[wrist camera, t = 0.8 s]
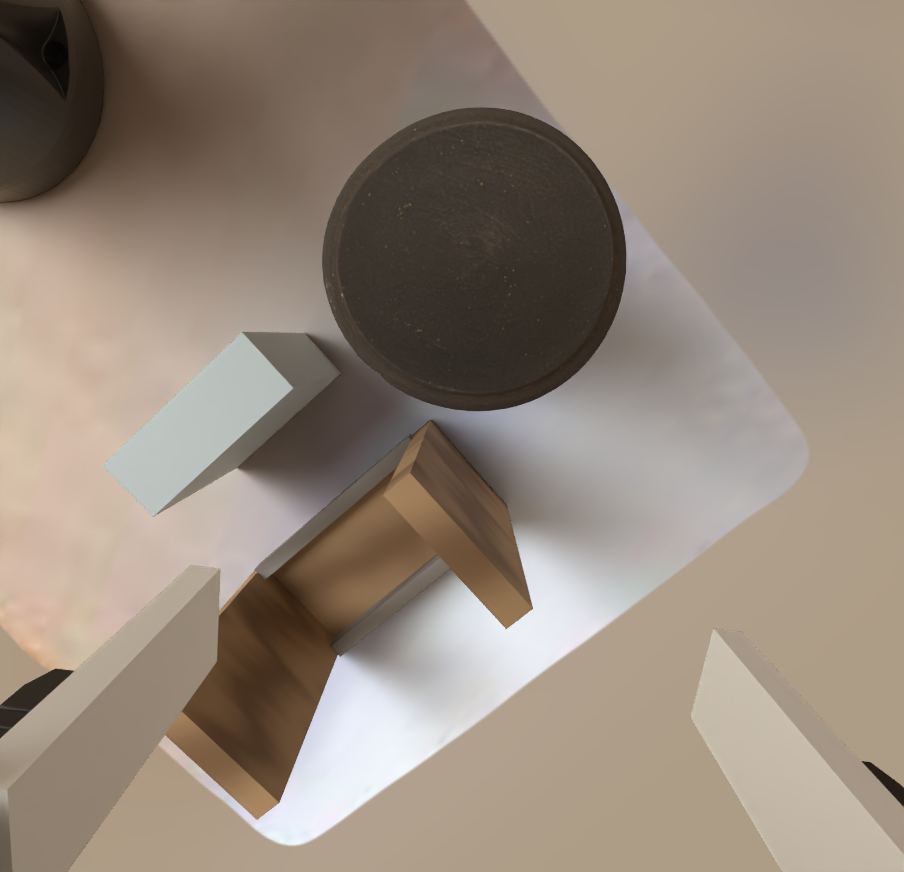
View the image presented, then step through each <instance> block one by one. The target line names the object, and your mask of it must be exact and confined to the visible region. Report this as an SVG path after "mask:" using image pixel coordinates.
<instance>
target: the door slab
mask: <svg viewBox="0 0 904 872" xmlns="http://www.w3.org/2000/svg"><path fill="white" fill-rule="evenodd" d="M340 374H341V373H340V372H339V371H338V369H337V368H336V367H335V366H334V365H333V364H332V363H331V362H330V361H329V359H328V358H327V357H326V356H325V355H324V354H323V353H322V352H321V351H320V349H319V348H318V347H317V346H316V345H315V344H314V343H313V342H312V341H311V339H310V338H309V337H308V336H307V335H306V334H305V333H268V332H242V333H241V334H240V335H238V336H237V337H236V338H235V339H234V340H233V341H232V342H231V343H230V344H229V345H228V346H227V347H226V348H225V349H224V350H223V351H222V352H221V353H220V354H219V355H218V356H217V357H215V358H214V359H213V360H212V361H211V362H210V363H209V364H208V365H207V366H206V367H205V368H204V369H203V370H202V371H201V372H200V373H199V374H198V375H197V376H196V377H195V378H193V379H192V380H191V381H190V382H189V383H188V384H187V385H186V386H185V387H184V388H183V389H182V390H181V391H180V392H179V393H178V394H177V395H176V396H175V397H174V398H173V399H172V400H170V401H169V402H168V403H167V404H166V405H165V406H164V407H163V408H162V409H161V410H160V411H159V412H158V413H157V414H156V415H155V416H154V417H153V418H152V419H151V420H150V421H149V422H147V423H146V424H145V425H144V426H143V427H142V428H141V429H140V430H139V431H138V432H137V433H136V434H135V435H134V436H133V437H132V438H131V439H130V440H129V441H128V442H127V443H125V444H124V445H123V446H122V447H121V448H120V449H119V450H118V451H117V452H116V453H115V454H114V455H113V456H112V457H111V458H110V459H109V460H108V461H107V462H106V463H105V464H104V465H102V466H103V467H104V468H105V469H106V470H107V471H108V472H109V473H110V474H111V475H112V476H113V477H114V478H115V479H116V480H117V481H118V482H119V483H120V484H121V485H122V486H123V487H124V488H125V489H126V490H127V491H128V492H129V493H130V494H131V495H132V496H133V497H134V498H135V499H136V500H137V501H138V502H139V503H140V504H141V505H142V506H143V507H144V508H145V509H146V510H147V511H148V512H149V513H150V514H151V515H152V516H153V517H154V516H155V515H157V514H159V513H160V512H162V511H164V510H166V509H167V508H169V507H171V506H172V505H174V504H176V503H178V502H179V501H181V500H183V499H184V498H186V497H188V496H190V495H191V494H193V493H195V492H196V491H198V490H200V489H202V488H203V487H205V486H207V485H208V484H210V483H212V482H214V481H215V480H217V479H219V478H220V477H222V476H224V475H225V474H227V473H229V472H231V471H232V470H234V469H236V468H237V467H238V466H239V465H241V464H242V463H243V462H244V461H245V460H246V459H247V458H248V457H249V456H250V455H252V454H253V453H254V452H255V451H256V450H257V449H258V448H259V447H260V446H261V445H263V444H264V443H265V442H266V441H267V440H268V439H269V438H270V437H271V436H273V435H274V434H275V433H276V432H277V431H278V430H279V429H280V428H281V427H282V426H284V425H285V424H286V423H287V422H288V421H289V420H290V419H291V418H292V417H293V416H295V415H296V414H297V413H298V412H299V411H300V410H301V409H302V408H303V407H305V406H306V405H307V404H308V403H309V402H310V401H311V400H312V399H313V398H314V397H316V396H317V395H318V394H319V393H320V392H321V391H322V390H323V389H324V388H325V387H327V386H328V385H329V384H330V383H331V382H332V381H333V380H334V379H335V378H337V377H338V376H339V375H340Z"/></svg>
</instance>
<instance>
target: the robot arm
mask: <svg viewBox="0 0 904 872" xmlns="http://www.w3.org/2000/svg"><path fill="white" fill-rule="evenodd" d="M102 102H103V69H102V61H101V56H100V51H99V47H98V43H97V39H96V36H95V33H94V30H93V27H92V25H91V22H90V20H89V18H88V15H87V13H86V11H85V9H84V7H83V5H82V4H81V2H80V0H0V202H9V201H17V200H22V199H26V198H30V197H33V196H35V195H38V194H40V193H42V192H44V191H46V190H48V189H50V188H52V187H53V186H55V185H56V184H58V183H59V182H60V181H62V180H63V179H64V178H65V177H66V176H67V175H68V174H69V173H70V172H71V171H72V170H73V169H74V168H75V167H76V166H77V165H78V163H79V162H80V161H81V159H82V158H83V156H84V155H85V153H86V151H87V150H88V148H89V146H90V144H91V142H92V140H93V137H94V135H95V132H96V129H97V126H98V123H99V119H100V114H101V109H102ZM219 592H220V569H219V568H210V567H202V566H194V565H191V566H190V567H188V568H187V569H186V570H185V571H184V572H183V573H182V574H181V575H180V576H179V577H177V578H176V579H175V580H174V581H173V582H172V583H171V584H170V585H169V586H168V587H166V588H165V589H164V590H163V591H162V592H161V593H160V594H159V595H158V596H157V597H155V598H154V599H153V600H152V601H151V602H150V603H149V604H148V605H147V606H146V607H144V608H143V609H142V610H141V611H140V612H139V613H138V614H137V615H136V616H135V617H133V618H132V619H131V620H130V621H129V622H128V623H127V624H126V625H125V626H124V627H122V628H121V629H120V630H119V631H118V632H117V633H116V634H115V635H114V636H113V637H111V638H110V639H109V640H108V641H107V642H106V643H105V644H104V645H103V646H102V647H100V648H99V649H98V650H97V651H96V652H95V653H94V654H93V655H92V656H91V657H89V658H88V659H87V660H86V661H85V662H84V663H83V664H82V665H81V666H80V667H78V668H77V669H76V670H75V671H71V670H63V669H54V670H52V671H50V672H48V673H46V674H45V675H43V676H41V677H39V678H37V679H35V680H33V681H31V682H29V683H27V684H25V685H24V686H22V687H21V688H20V689H19V690H18V691H16V692H15V693H14V694H13V695H12V696H11V697H9V698H8V699H7V700H6V701H5V702H3V703H2V704H1V705H0V872H68V870H69V869H70V867H71V866H72V865H73V863H74V862H75V860H76V859H77V858H78V856H79V855H80V853H81V852H82V851H83V849H84V848H85V846H86V845H87V844H88V842H89V841H90V839H91V838H92V837H93V835H94V834H95V832H96V831H97V830H98V828H99V827H100V825H101V824H102V822H103V821H104V820H105V818H106V817H107V815H108V814H109V813H110V811H111V810H112V808H113V807H114V806H115V804H116V803H117V801H118V800H119V798H120V797H121V796H122V794H123V793H124V791H125V790H126V789H127V787H128V786H129V784H130V783H131V782H132V780H133V779H134V777H135V776H136V775H137V773H138V772H139V770H140V769H141V768H142V766H143V765H144V763H145V762H146V760H147V759H148V758H149V756H150V755H151V753H152V752H153V751H154V749H155V748H156V746H157V745H158V744H159V742H160V741H161V739H162V738H163V737H164V735H165V734H166V732H167V731H168V730H169V728H170V727H171V725H172V724H173V723H174V721H175V720H176V718H177V717H178V715H179V714H180V713H181V711H182V710H183V708H184V707H185V706H186V704H187V703H188V701H189V700H190V699H191V697H192V696H193V694H194V693H195V692H196V690H197V689H198V687H199V686H200V685H201V683H202V682H203V680H204V679H205V677H206V676H207V675H208V673H209V672H210V670H211V669H212V668H213V666H214V665H215V663H216V662H217V646H218V619H219ZM691 719H692V721H693V722H694V724H695V725H696V727H697V729H698V731H699V732H700V734H701V736H702V737H703V739H704V741H705V743H706V744H707V746H708V748H709V749H710V751H711V753H712V754H713V756H714V758H715V759H716V761H717V762H718V764H719V766H720V768H721V769H722V771H723V773H724V775H725V776H726V778H727V779H728V781H729V783H730V785H731V786H732V788H733V790H734V791H735V793H736V795H737V796H738V798H739V800H740V802H741V803H742V805H743V807H744V808H745V810H746V812H747V813H748V815H749V817H750V818H751V820H752V822H753V823H754V825H755V826H756V828H757V830H758V832H759V834H760V835H761V837H762V839H763V840H764V842H765V844H766V845H767V847H768V849H769V850H770V852H771V854H772V855H773V857H774V859H775V860H776V862H777V864H778V866H779V867H780V869H781V871H782V872H904V788H903V787H902V786H901V785H900V784H899V783H897V782H896V781H895V780H894V779H892V778H891V777H890V776H888V775H887V774H885V773H884V772H883V771H881V770H880V769H879V768H877V767H876V766H875V765H873V764H872V763H870V762H864V761H861V760H860V759H859V758H858V757H857V756H856V755H855V754H854V753H853V752H852V751H851V750H850V749H849V747H847V745H846V744H845V743H844V742H843V741H842V740H841V739H840V738H839V737H838V736H837V735H836V733H835V732H834V731H833V730H832V729H831V728H830V727H829V726H828V725H827V724H826V723H825V721H823V719H822V718H821V717H820V716H819V715H818V714H817V713H816V712H815V711H814V710H813V709H812V707H811V706H810V705H809V704H808V703H807V702H806V701H805V700H804V699H803V698H802V697H801V695H800V694H799V693H798V692H797V691H796V690H795V689H794V688H793V687H792V686H791V685H790V684H789V682H788V681H787V680H786V679H785V678H784V677H783V676H782V675H781V674H780V673H779V672H778V671H777V669H775V667H774V666H773V665H772V664H771V663H770V662H769V661H768V660H767V659H766V658H765V656H764V655H763V654H762V653H761V652H760V651H759V650H758V649H757V648H756V647H755V646H754V645H753V644H752V643H751V641H750V640H749V639H748V638H747V637H746V636H745V635H744V634H743V633H742V632H739V631H731V630H723V629H715V628H714V629H713V632H712V636H711V640H710V644H709V648H708V652H707V655H706V659H705V663H704V667H703V670H702V674H701V678H700V682H699V686H698V690H697V694H696V698H695V701H694V706H693V709H692V713H691Z"/></svg>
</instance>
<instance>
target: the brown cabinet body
mask: <svg viewBox="0 0 904 872" xmlns="http://www.w3.org/2000/svg"><path fill="white" fill-rule="evenodd" d="M450 568H451V570H452V571H453V572H454V573H455V574H456V575H457V576H458V577H459V578H460V579H461V580H462V582H463V583H464V584H465V585H466V586H467V587H468V588H469V589H470V590H471V591H472V592H473V593H474V595H475V596H476V597H477V598H478V599H479V600H480V601H481V602H482V603H483V604H484V605H485V606H486V608H487V609H488V610H489V611H490V612H491V613H492V614H493V615H494V616H495V617H496V618H497V620H498V621H499V622H500V623H501V624H502V625H503V626H504V627H505V628H506V629H507V628H508V627H510V626H511V625H512V624H514V623H515V622H516V621H518V620H519V619H520V618H521V617H523V616H524V615H525V614H527V613H528V612H529V611H531V610H532V609H533V607H532V603H531V599H530V595H529V591H528V587H527V583H526V579H525V575H524V571H523V567H522V563H521V560H520V556H519V552H518V548H517V544H516V540H515V536H514V532H513V528H512V524H511V520H510V516H509V512H508V508H507V505H506V504H505V503H504V502H503V501H502V499H501V498H500V497H499V496H498V495H497V494H496V493H495V492H494V490H493V489H492V488H491V487H490V486H489V485H488V484H487V482H486V481H485V480H484V479H483V478H482V477H481V476H480V475H479V473H478V472H477V471H476V470H475V469H474V468H473V467H472V465H471V464H470V463H469V462H468V461H467V460H466V459H465V458H464V456H463V455H462V454H461V453H460V452H459V451H458V450H457V448H456V447H455V446H454V445H453V444H452V443H451V442H450V441H449V439H448V438H447V437H446V436H445V435H444V434H443V433H442V431H441V430H440V429H439V428H438V427H437V426H436V425H435V424H434V422H433V421H432V420H430V421H428V422H427V423H426V424H425V425H424V426H423V427H421V428H420V429H419V430H418V431H417V432H416V433H414V434H413V435H411V434H409V435H408V436H407V437H406V438H405V439H404V440H402V441H401V442H400V443H399V444H398V445H397V446H395V447H394V448H393V449H392V450H391V451H390V452H388V453H387V454H386V455H385V456H384V457H383V458H381V459H380V460H379V461H378V462H377V463H376V464H375V465H373V466H372V467H371V468H370V469H369V470H368V471H366V472H365V473H364V474H363V475H362V476H361V477H359V478H358V479H357V480H356V481H355V482H354V483H352V484H351V485H350V486H349V487H348V488H347V489H346V490H344V491H343V492H342V493H341V494H340V495H339V496H337V497H336V498H335V499H334V500H333V501H332V502H330V503H329V504H328V505H327V506H326V507H325V508H323V509H322V510H321V511H320V512H319V513H318V514H317V515H315V516H314V517H313V518H312V519H311V520H310V521H308V522H307V523H306V524H305V525H304V526H303V527H301V528H300V529H299V530H298V531H297V532H296V533H294V534H293V535H292V536H291V537H290V538H289V539H287V540H286V541H285V542H284V543H283V544H282V545H281V546H279V547H278V548H277V549H276V550H275V551H274V552H272V553H271V554H270V555H269V556H268V557H267V558H265V559H264V560H263V561H262V562H261V563H260V564H259V565H258V566H257V567H256V569H255V571H254V572H253V573H252V574H251V576H250V577H249V578H248V579H247V580H246V581H245V582H244V583H243V585H242V586H241V587H240V588H239V589H238V590H237V591H236V592H235V594H234V595H233V596H232V597H231V598H230V599H229V600H228V602H227V603H226V604H225V605H224V606H223V607H222V608H221V609H220V611H219V619H218V646H217V662H216V663H215V665H214V666H213V668H212V669H211V670H210V672H209V673H208V675H207V676H206V677H205V679H204V680H203V682H202V683H201V685H200V686H199V687H198V689H197V690H196V692H195V693H194V694H193V696H192V697H191V699H190V700H189V701H188V703H187V704H186V706H185V707H184V708H183V710H182V711H181V713H180V714H179V715H178V717H177V718H176V720H175V721H174V723H173V724H172V725H171V727H170V728H169V730H168V731H167V732H166V734H165V735H166V736H167V737H168V738H169V739H170V740H171V741H172V742H173V743H174V744H176V745H177V746H178V747H179V748H180V749H181V750H182V751H183V752H184V753H185V754H186V755H187V756H188V757H190V758H191V759H192V760H193V761H194V762H195V763H196V764H197V765H198V766H199V767H200V768H201V769H203V770H204V771H205V772H206V773H207V774H208V775H209V776H210V777H211V778H212V779H213V780H214V781H216V782H217V783H218V784H219V785H220V786H221V787H222V788H223V789H224V790H225V791H226V792H227V793H229V794H230V795H231V796H232V797H233V798H234V799H235V800H236V801H237V802H238V803H239V804H240V805H242V806H243V807H244V808H245V809H246V810H247V811H248V812H249V813H250V814H251V815H252V816H253V817H254V818H256V819H259V818H260V817H261V816H263V815H264V814H265V813H267V812H268V811H269V810H271V809H272V808H273V807H274V806H276V805H277V804H278V803H279V802H280V800H281V797H282V795H283V792H284V789H285V787H286V784H287V782H288V779H289V777H290V774H291V772H292V769H293V767H294V764H295V762H296V759H297V756H298V754H299V751H300V749H301V746H302V744H303V741H304V739H305V736H306V734H307V731H308V729H309V726H310V724H311V721H312V718H313V716H314V713H315V711H316V708H317V706H318V703H319V701H320V698H321V696H322V693H323V691H324V688H325V686H326V683H327V680H328V678H329V675H330V673H331V670H332V668H333V665H334V663H335V660H336V658H337V655H339V656H342V655H343V654H344V653H345V652H347V651H348V650H349V649H350V648H352V647H353V646H354V645H355V644H357V643H358V642H359V641H360V640H362V639H363V638H364V637H365V636H367V635H368V634H369V633H370V632H372V631H373V630H374V629H375V628H377V627H378V626H379V625H380V624H382V623H383V622H384V621H385V620H387V619H388V618H389V617H390V616H392V615H393V614H394V613H395V612H397V611H398V610H399V609H400V608H402V607H403V606H404V605H405V604H407V603H408V602H409V601H410V600H412V599H413V598H414V597H415V596H417V595H418V594H419V593H420V592H422V591H423V590H424V589H425V588H426V587H428V586H429V585H430V584H431V583H433V582H434V581H435V580H436V579H438V578H439V577H440V576H441V575H443V574H444V573H445V572H446V571H448V570H449V569H450Z"/></svg>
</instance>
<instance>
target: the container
mask: <svg viewBox="0 0 904 872" xmlns="http://www.w3.org/2000/svg"><path fill="white" fill-rule="evenodd" d="M322 267H323V278H324V285H325V289H326V294H327V297H328V301H329V304H330V307H331V310H332V313H333V315H334V317H335V320H336V322H337V324H338V326H339V328H340V330H341V331H342V333H343V335H344V337H345V338H346V340H347V341H348V343H349V344H350V345H351V347H352V348H353V349H354V351H355V352H356V353H357V355H358V356H359V357H360V358H361V359H362V360H363V361H364V362H365V363H366V364H367V365H368V366H370V367H371V368H372V369H374V370H375V371H377V372H378V373H380V374H381V376H382V377H383V378H384V379H385V380H386V381H387V382H389V383H390V384H391V385H393V386H394V387H396V388H397V389H399V390H401V391H402V392H404V393H406V394H408V395H410V396H412V397H415V398H417V399H419V400H422V401H424V402H427V403H430V404H433V405H437V406H441V407H445V408H450V409H456V410H465V411H490V410H498V409H505V408H510V407H514V406H518V405H521V404H524V403H527V402H530V401H532V400H535V399H537V398H539V397H541V396H543V395H545V394H547V393H549V392H550V391H552V390H554V389H556V388H557V387H559V386H560V385H562V384H563V383H564V382H566V381H567V380H568V379H570V378H571V377H572V376H573V375H574V374H576V373H577V372H578V371H579V370H580V369H581V368H582V367H583V366H584V365H585V364H586V362H587V361H588V360H589V359H590V358H591V357H592V355H593V354H594V353H595V351H596V350H597V349H598V347H599V346H600V344H601V343H602V341H603V339H604V338H605V336H606V334H607V332H608V330H609V328H610V326H611V325H612V322H613V320H614V318H615V315H616V313H617V310H618V307H619V304H620V300H621V296H622V292H623V286H624V281H625V274H626V243H625V235H624V230H623V224H622V220H621V216H620V213H619V210H618V207H617V204H616V202H615V199H614V197H613V194H612V192H611V190H610V188H609V186H608V184H607V182H606V180H605V179H604V177H603V176H602V174H601V172H600V171H599V170H598V168H597V167H596V165H595V164H594V163H593V161H592V160H591V159H590V158H589V157H588V155H587V154H586V153H585V152H584V151H583V150H582V149H581V148H580V147H579V146H578V145H577V144H576V143H574V142H573V141H572V140H571V139H570V138H568V137H567V136H566V135H564V134H563V133H562V132H560V131H559V130H557V129H555V128H554V127H552V126H550V125H548V124H546V123H544V122H543V121H541V120H538V119H536V118H533V117H531V116H528V115H525V114H522V113H519V112H515V111H511V110H505V109H498V108H464V109H457V110H452V111H447V112H443V113H440V114H437V115H433V116H430V117H428V118H425V119H423V120H420V121H418V122H416V123H414V124H412V125H410V126H408V127H406V128H404V129H403V130H401V131H399V132H398V133H396V134H395V135H393V136H392V137H391V138H389V139H388V140H387V141H385V142H384V143H383V144H381V145H380V146H379V147H378V148H376V149H375V150H374V151H373V152H372V153H371V154H370V155H369V156H368V157H367V158H366V159H365V160H364V161H363V162H362V163H361V164H360V165H359V166H358V167H357V169H356V170H355V171H354V173H353V174H352V175H351V176H350V178H349V179H348V181H347V182H346V184H345V186H344V187H343V189H342V191H341V193H340V195H339V196H338V198H337V200H336V203H335V205H334V207H333V210H332V212H331V215H330V217H329V220H328V224H327V228H326V232H325V237H324V244H323V255H322Z"/></svg>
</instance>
